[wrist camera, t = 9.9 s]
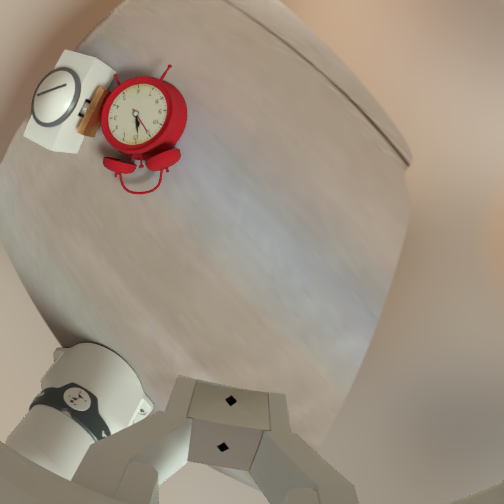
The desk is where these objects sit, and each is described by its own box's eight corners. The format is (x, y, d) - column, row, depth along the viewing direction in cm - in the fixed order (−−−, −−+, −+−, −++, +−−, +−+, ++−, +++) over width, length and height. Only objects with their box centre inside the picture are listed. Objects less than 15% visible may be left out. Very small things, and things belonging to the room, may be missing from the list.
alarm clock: (182, 57, 28) (172, 181, 28) (192, 83, 34) (186, 193, 34) (101, 72, 28) (82, 189, 28) (119, 94, 35) (108, 198, 35)
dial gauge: (81, 155, 34) (51, 152, 27) (46, 137, 33) (16, 133, 27) (121, 74, 31) (98, 57, 25) (82, 61, 31) (57, 46, 24)
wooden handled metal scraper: (94, 137, 32) (82, 135, 30) (61, 122, 32) (48, 119, 29) (115, 95, 31) (104, 89, 28) (80, 82, 31) (69, 76, 28)
